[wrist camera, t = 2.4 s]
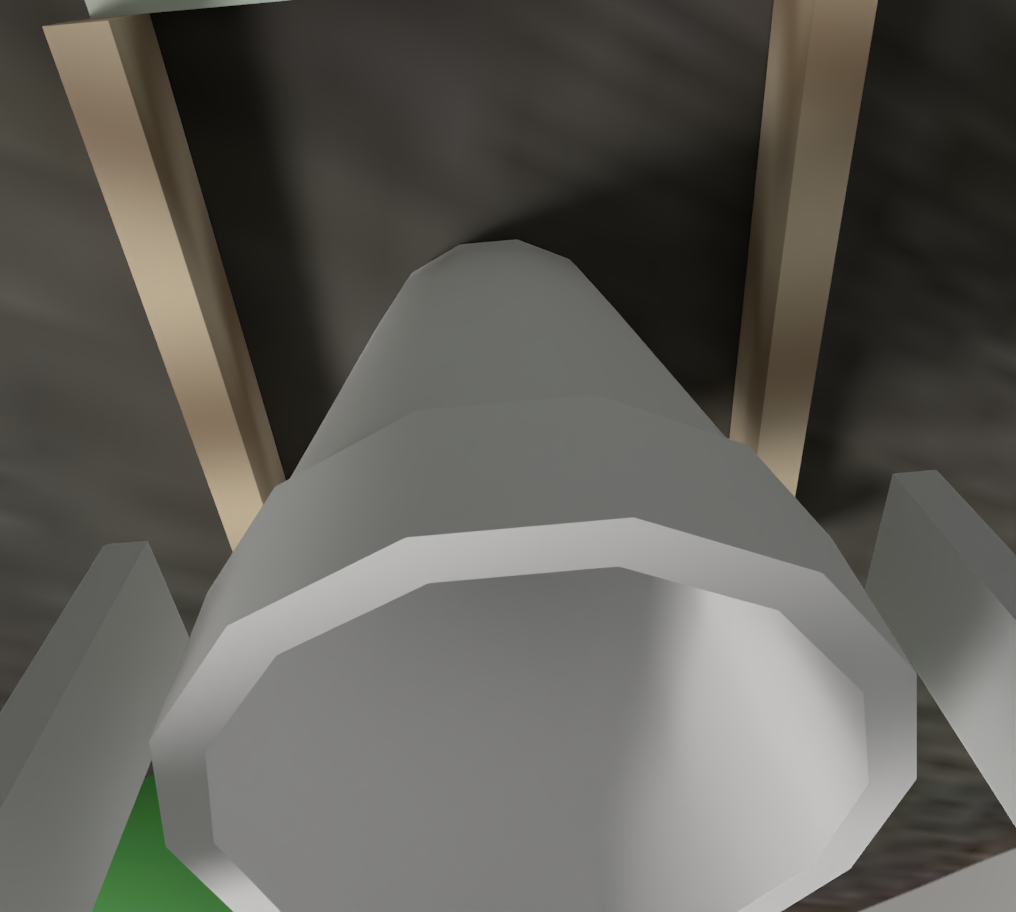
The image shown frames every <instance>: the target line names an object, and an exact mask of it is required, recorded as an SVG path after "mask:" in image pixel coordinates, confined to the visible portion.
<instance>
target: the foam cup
mask: <svg viewBox="0 0 1016 912" xmlns="http://www.w3.org/2000/svg"><path fill="white" fill-rule="evenodd" d="M149 745H150V751H151V757H152V764H153V770H154V776H155V782H156V789H157V795H158V801H159V807H160V814H161V820H162V826H163V832H164V839H165V845H166V848H167V849H168V850H170V851H171V852H172V853H173V854H174V855H175V856H176V857H177V858H178V859H179V860H180V861H181V862H182V863H183V864H184V865H185V866H186V867H187V868H188V869H189V870H190V871H191V872H192V873H194V874H195V875H196V876H197V877H198V878H199V879H200V880H201V881H202V882H203V883H204V884H205V885H206V886H207V887H208V888H209V889H210V890H211V891H212V892H213V893H214V894H215V895H216V896H217V897H219V898H220V899H221V900H222V901H223V902H224V903H225V904H226V905H227V906H228V907H229V908H230V909H231V910H232V911H233V912H781V911H783V910H784V909H786V908H788V907H789V906H791V905H792V904H794V903H796V902H797V901H799V900H801V899H802V898H804V897H805V896H807V895H809V894H810V893H812V892H813V891H815V890H817V889H818V888H820V887H822V886H823V885H825V884H826V883H828V882H830V881H831V880H833V879H834V878H836V877H838V876H839V875H841V874H843V873H844V872H846V871H847V870H849V869H850V868H851V867H852V866H853V864H854V863H855V862H856V860H857V859H858V858H859V856H860V855H861V854H862V852H863V851H864V849H865V848H866V847H867V845H868V844H869V843H870V841H871V840H872V839H873V837H874V836H875V835H876V833H877V832H878V831H879V829H880V828H881V826H882V825H883V824H884V822H885V821H886V820H887V818H888V817H889V816H890V814H891V813H892V812H893V810H894V809H895V808H896V806H897V805H898V803H899V802H900V801H901V799H902V798H903V797H904V795H905V794H906V793H907V791H908V790H909V789H910V787H911V786H912V785H913V783H914V782H915V780H916V779H917V673H916V671H915V669H914V668H913V666H912V665H911V663H910V662H909V660H908V658H907V657H906V655H905V654H904V652H903V651H902V649H901V647H900V646H899V644H898V643H897V641H896V639H895V638H894V636H893V635H892V633H891V632H890V630H889V628H888V627H887V625H886V624H885V622H884V620H883V619H882V617H881V616H880V614H879V613H878V611H877V609H876V608H875V606H874V605H873V603H872V601H871V600H870V598H869V597H868V595H867V594H866V592H865V590H864V589H863V587H862V586H861V584H860V582H859V581H858V579H857V578H856V576H855V575H854V573H853V571H852V570H851V568H850V567H849V565H848V563H847V562H846V560H845V559H844V557H843V556H842V554H841V552H840V551H839V549H838V548H837V546H836V544H835V543H834V541H833V540H832V538H831V537H830V536H829V535H828V534H827V533H826V531H825V530H824V529H823V528H822V527H821V526H820V525H819V524H818V522H817V521H816V520H815V519H814V518H813V517H812V516H811V515H810V514H809V512H808V511H807V510H806V509H805V508H804V507H803V506H802V505H801V504H800V502H799V501H798V500H797V499H796V498H795V497H794V496H793V495H792V493H791V492H790V491H789V490H788V489H787V488H786V487H785V486H784V485H783V483H782V482H781V481H780V480H779V479H778V478H777V477H776V476H775V475H774V473H773V472H772V471H771V470H770V469H769V468H768V467H767V466H766V464H765V463H764V462H763V461H762V460H761V459H760V458H759V457H758V456H757V454H756V453H755V452H754V451H753V450H752V449H751V448H750V447H749V446H748V445H746V444H743V443H740V442H737V441H734V440H731V439H728V438H726V437H725V436H724V435H723V434H722V433H721V431H720V430H719V429H718V428H717V427H716V426H715V424H714V423H713V422H712V421H711V420H710V419H709V417H708V416H707V415H706V414H705V413H704V412H703V410H702V409H701V408H700V407H699V406H698V405H697V403H696V402H695V401H694V400H693V399H692V398H691V397H690V395H689V394H688V393H687V392H686V391H685V390H684V388H683V387H682V386H681V385H680V384H679V383H678V381H677V380H676V379H675V378H674V377H673V376H672V374H671V373H670V372H669V371H668V370H667V369H666V368H665V366H664V365H663V364H662V363H661V362H660V361H659V359H658V358H657V357H656V356H655V355H654V354H653V352H652V351H651V350H650V349H649V348H648V347H647V345H646V344H645V343H644V342H643V341H642V340H641V339H640V337H639V336H638V335H637V334H636V333H635V332H634V330H633V329H632V328H631V327H630V326H629V325H628V323H627V322H626V321H625V320H624V319H623V318H622V316H621V315H620V314H619V313H618V312H617V311H616V310H615V308H614V307H613V306H612V305H611V304H610V303H609V302H608V300H607V299H606V298H605V297H604V296H603V295H602V294H601V293H600V292H599V291H598V289H597V288H596V287H595V286H594V285H593V284H592V283H591V282H590V281H589V280H588V278H587V277H586V276H585V275H584V274H583V273H582V272H581V271H580V270H579V268H578V267H577V266H576V265H574V264H573V262H572V261H571V260H570V259H568V258H565V257H563V256H560V255H557V254H555V253H552V252H549V251H547V250H544V249H541V248H539V247H536V246H534V245H531V244H528V243H526V242H523V241H520V240H518V239H515V240H504V241H492V242H481V243H469V244H460V245H458V246H456V247H454V248H453V249H451V250H449V251H448V252H446V253H444V254H443V255H441V256H439V257H438V258H436V259H434V260H432V261H431V262H429V263H427V264H426V265H424V266H422V267H421V268H419V269H417V270H416V271H414V272H412V273H411V275H410V276H409V278H408V279H407V281H406V282H405V284H404V285H403V287H402V288H401V290H400V292H399V293H398V295H397V296H396V298H395V299H394V301H393V303H392V304H391V306H390V307H389V309H388V310H387V312H386V314H385V315H384V317H383V318H382V320H381V322H380V323H379V325H378V326H377V328H376V330H375V331H374V333H373V335H372V337H371V338H370V340H369V342H368V344H367V345H366V347H365V349H364V351H363V352H362V354H361V356H360V358H359V359H358V361H357V363H356V364H355V366H354V368H353V370H352V371H351V373H350V375H349V377H348V378H347V380H346V382H345V384H344V385H343V387H342V389H341V391H340V392H339V394H338V396H337V397H336V399H335V401H334V403H333V404H332V406H331V408H330V410H329V411H328V413H327V415H326V417H325V418H324V420H323V422H322V424H321V425H320V427H319V429H318V430H317V432H316V434H315V436H314V437H313V439H312V441H311V443H310V444H309V446H308V448H307V450H306V451H305V453H304V455H303V457H302V458H301V460H300V462H299V463H298V465H297V467H296V469H295V470H294V472H293V474H292V476H291V477H290V479H288V480H286V481H285V482H283V483H281V484H279V485H277V486H275V487H274V489H273V490H272V492H271V493H270V495H269V497H268V498H267V500H266V501H265V503H264V504H263V506H262V508H261V509H260V511H259V512H258V514H257V515H256V517H255V519H254V520H253V522H252V523H251V525H250V526H249V528H248V530H247V531H246V533H245V534H244V536H243V537H242V539H241V541H240V542H239V544H238V545H237V547H236V548H235V550H234V552H233V553H232V555H231V556H230V558H229V560H228V561H227V563H226V564H225V566H224V567H223V569H222V571H221V572H220V574H219V575H218V577H217V578H216V580H215V582H214V583H213V585H212V586H211V588H210V589H209V591H208V593H207V595H206V597H205V600H204V602H203V605H202V608H201V610H200V613H199V615H198V618H197V620H196V623H195V625H194V628H193V631H192V633H191V636H190V638H189V641H188V643H187V646H186V648H185V651H184V654H183V656H182V659H181V661H180V664H179V666H178V669H177V671H176V674H175V677H174V679H173V682H172V684H171V687H170V689H169V692H168V694H167V697H166V700H165V702H164V705H163V707H162V710H161V712H160V715H159V717H158V720H157V723H156V725H155V728H154V730H153V733H152V735H151V738H150V740H149Z"/></svg>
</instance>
